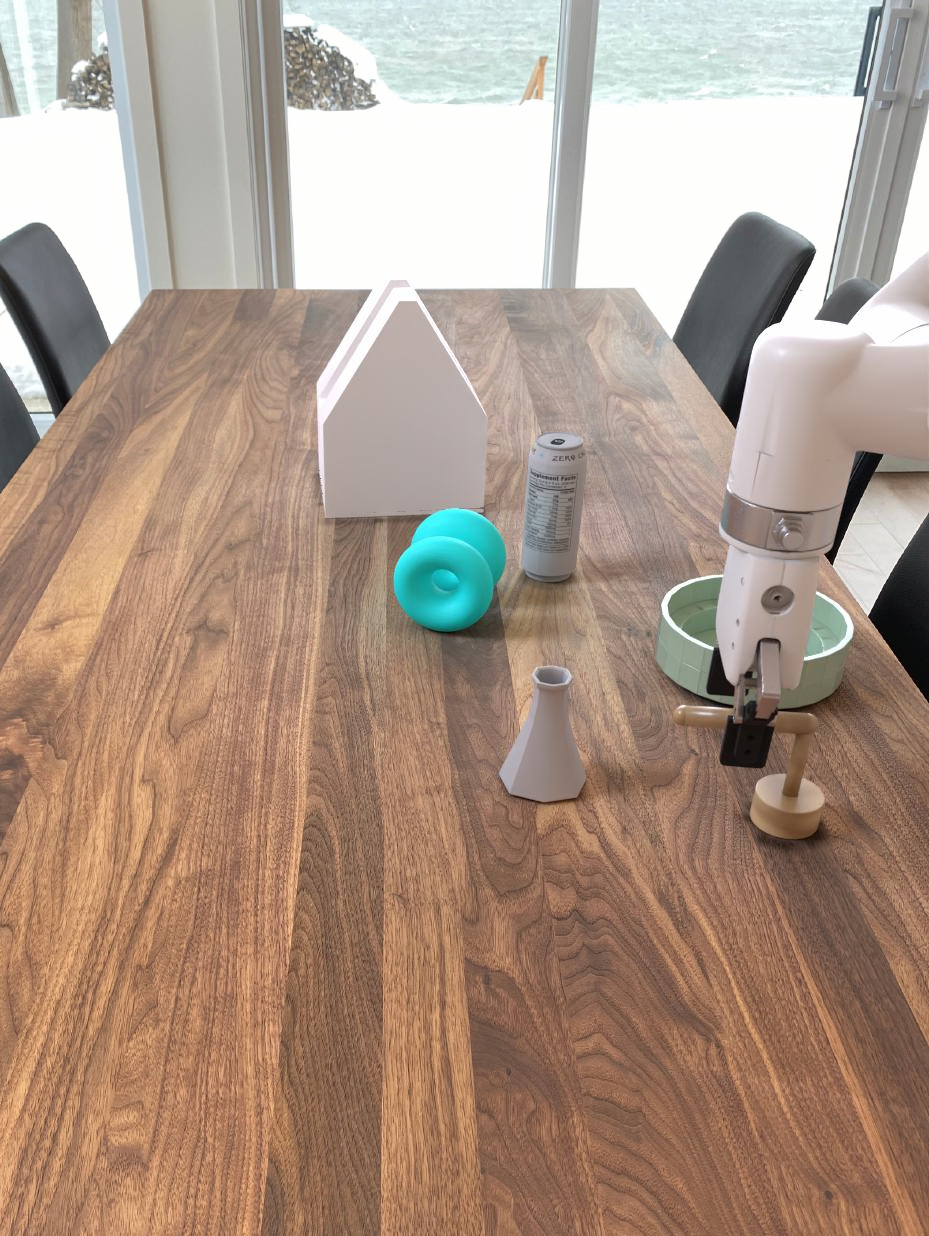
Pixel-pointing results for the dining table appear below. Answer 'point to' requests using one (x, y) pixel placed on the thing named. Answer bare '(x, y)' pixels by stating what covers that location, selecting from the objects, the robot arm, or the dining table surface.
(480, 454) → the milk carton
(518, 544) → the dining table surface
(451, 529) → the turquoise spool
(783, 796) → the wooden hook stand
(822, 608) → the bowl
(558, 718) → the flask
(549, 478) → the energy drink can
